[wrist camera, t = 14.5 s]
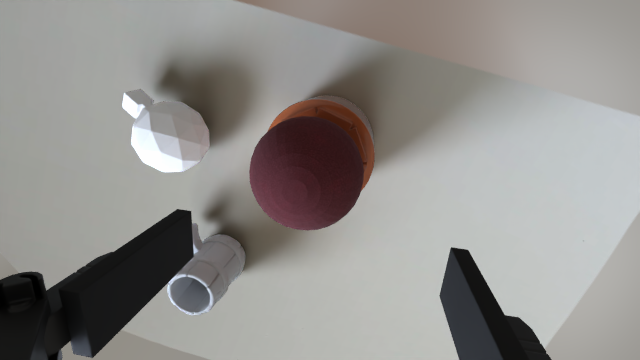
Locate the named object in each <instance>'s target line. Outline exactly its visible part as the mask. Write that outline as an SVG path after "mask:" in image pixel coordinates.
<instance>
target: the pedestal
mask: <svg viewBox="0 0 640 360" xmlns="http://www.w3.org/2000/svg"><path fill="white" fill-rule="evenodd" d="M301 116H313V117H319V118H323V119H326V120H329V121H331V122H333V123H335V124H337V125H338V126H339V127H341V128H342V129H344V130H345V131H346V132H347V133H348V134H349V135H350V137H351V138H352V139H353V140H354V142H355V144H356V145H357V147H358V149H359V152H360V155H361V158H362V161H363V168H364V180H363V185H362V189H363V188H364V187H365V185H366V184H367V182H368V181H369V178H370V176H371V174H372V170H373V166H374V154H375V153H374V139H373V132H372V128H371V125H370V123H369V121H368V119H367V117H366V116H365V114H364V113H363V112H362V111H361V110H360V109H359V108H358V107H357V106H356V105H355V104H353V103H352V102H350V101H348V100H346V99H344V98H341V97H337V96H331V95H322V96H317V97H313V98H310V99H307V100H304V101H301V102H298V103H296V104H294V105H291V106H290V107H288V108H287V109H285V110H284V111H283V112H281V113H280V114H279V115H278V116H277V117H276V119H275V120H274V121H273V123H272V124H271V126H270V128H269V130H270V129H271V128H272V127H274V126H275V125H277V124H278V123H280V122H282V121H285V120H287V119H290V118H295V117H301ZM269 130H268V131H269ZM362 189H361V191H362Z"/></svg>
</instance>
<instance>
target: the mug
mask: <svg viewBox="0 0 640 360" xmlns="http://www.w3.org/2000/svg"><path fill="white" fill-rule="evenodd" d="M192 234H193V249H194V257H193V258H192V259H191V260H190V261H189V262H188V263H187V264H186V265H185V266H184V267H183V268H182V269H181V270H180V271H179V272H178V273H177V274H176V275H175V276H174V277H173V278H172V279H171V280H170V282H169V283H168V295H169V298H170V300H171V301H172V303H173V304H174V305H175V306H176V307H178V308H179V309H180V310H181V311H183V312H185V313H187V314H190V315H201V314H202V313H204V312H205V313H206V312H208V311H209V310H211V309H212V307H213V306H214V305H215V303H216V302H217V301H219V300H220V299H221V298H222V297H223V296H224V294H225V293H226V291H227V289H228V286H229V285H230V283H231V282H232V281H234V280H235V279H237V278H238V277H239V275H240V274H241V273H242V271H243V268H244V264H245V251H244V249H243V247H242V246H241V244H240V243H239V242H238V241H237V240H235V239H233V238H232V237H230V236H227V235H221V234H217V235H213V236H211V237H209V238H206V239H204V240H203V241H201V239H200V237H199V234H198V225H197V224H196V223H193V224H192Z"/></svg>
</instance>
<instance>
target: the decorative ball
mask: <svg viewBox="0 0 640 360" xmlns="http://www.w3.org/2000/svg"><path fill="white" fill-rule="evenodd" d="M249 173H250V184H251V188H252V192H253V194H254V196H255V198H256V200H257V202H258V204H259V205H260V206H261V208H262V209H263V211H264V212H265V213H266V214H267V215H268V216H269V217H271V218H272V219H273V220H275V221H276V222H278V223H280V224H282V225H284V226H286V227H289V228H293V229H298V230H317V229H321V228H325V227H328V226H330V225H332V224H334V223H336V222H337V221H339V220H340V219H341V218H342V217H344V216H345V215H346V214H347V213H348V212H349V211H350V210H351V209H352V207H353V206H354V205H355V203H356V201H357V199H358V197H359V195H360V192H361V189H362V185H363V180H364V168H363V161H362V158H361V155H360V152H359V149H358V147H357V145H356V144H355V142H354V140H353V139H352V138H351V137H350V135H349V134H348V133H347V132H346V131H345V130H344V129H342V128H341V127H339V126H338V125H337V124H335V123H333V122H331V121H329V120H326V119H323V118H319V117H313V116H301V117H295V118H290V119H287V120H285V121H282V122H280V123H278V124H277V125H275V126H274V127H272V128H271V129H270V130H269V131H268V132H267V133H266V134H265V135H264V136H263V137H262V138H261V139H260V141H259V143H258V144H257V146H256V147H255V150H254V153H253V155H252V158H251V164H250V171H249Z"/></svg>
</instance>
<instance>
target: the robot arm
mask: <svg viewBox="0 0 640 360" xmlns="http://www.w3.org/2000/svg"><path fill="white" fill-rule="evenodd" d="M193 257H194V249H193V234H192V219H191V211H187V210H179V209H177V210H176V211H174V212H173V213H171V214H170V215H168V216H167V217H165V218H164V219H162V220H161V221H159V222H158V223H156V224H155V225H153V226H152V227H150V228H149V229H147V230H146V231H144V232H143V233H141V234H140V235H138V236H137V237H135V238H134V239H132V240H131V241H129V242H128V243H126V244H125V245H123V246H122V247H120V248H119V249H117V250H116V251H114V252H110V253H107V254H105V255H102V256H100V257H97V258H96V259H94V260H93V261H91V262H90V263H88V264H87V265H86V266H84V267H82V268H80V269H79V270H77V272H76V273H75V272H74V273H73V274H71V275H70V276H68V277H67V278H65V279H64V280H62V281H60V282H59V283H57V284H56V285H54V286H53V287H51V288H50V289H48V290H47V291H46V288H45V284H44V280H43V276H42V274H40V273H38V272H23V273H18V274H15V275H11V276H9V277H6V278H4V279H1V280H0V360H62V352H61V348H63V347H64V346H65V345H66V344H67V343H68V342H69V341H71V345H72V349H73V353H74V354H77V355H81V356H86V357H91V358H93V357H94V356H95V355H96V354H97V353H98V352H99V351H100V350H101V349H102V348H103V347H104V346H105V345H106V344H107V343H108V342H109V341H110V340H111V339H112V338H113V337H114V336H115V335H116V334H117V333H118V332H119V331H120V330H121V329H122V328H123V327H124V326H125V325H126V324H127V323H128V322H129V321H130V320H131V319H132V318H133V317H134V316H135V315H136V314H137V313H138V312H139V311H140V310H141V309H142V308H143V307H144V306H145V305H146V304H147V303H148V302H149V301H150V300H151V299H152V298H153V297H154V296H155V295H156V294H157V293H158V292H159V291H160V290H161V289H162V288H163V287H164V286H165V285H166V284H167V283H168V282H169V281H170V280H171V279H172V278H173V277H174V276H175V275H176V274H177V273H178V272H179V271H180V270H181V269H182V268H183V267H184V266H185V265H186V264H187V263H188V262H189V261H190V260H191V259H192V258H193ZM440 299H441V302H442V305H443V308H444V312H445V315H446V318H447V321H448V325H449V328H450V331H451V334H452V337H453V341H454V344H455V347H456V350H457V353H458V357H459V360H551V358H550V357H549V355H548V354H546V351H545V349H544V347H543V346H542V344H540V341H539V340H538V338H537V336H536V335H535V333H534V332H533V330H532V329H531V328H530V327H529V326H528V325H527V324H526V323H524V322H523V321H522V320H521V319H520V318H518V317H512V316H506V315H504V313H503V311H502V310H501V308H500V306H499V304H498V302H497V301H496V299H495V297H494V295H493V294H492V292H491V290H490V288H489V286H488V285H487V283H486V281H485V279H484V278H483V276H482V274H481V272H480V270H479V269H478V267H477V265H476V263H475V261H474V260H473V258H472V256H471V254H470V253H469V251H468V250H465V249H458V248H451V250H450V254H449V258H448V262H447V267H446V271H445V275H444V279H443V283H442V288H441V292H440Z"/></svg>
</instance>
